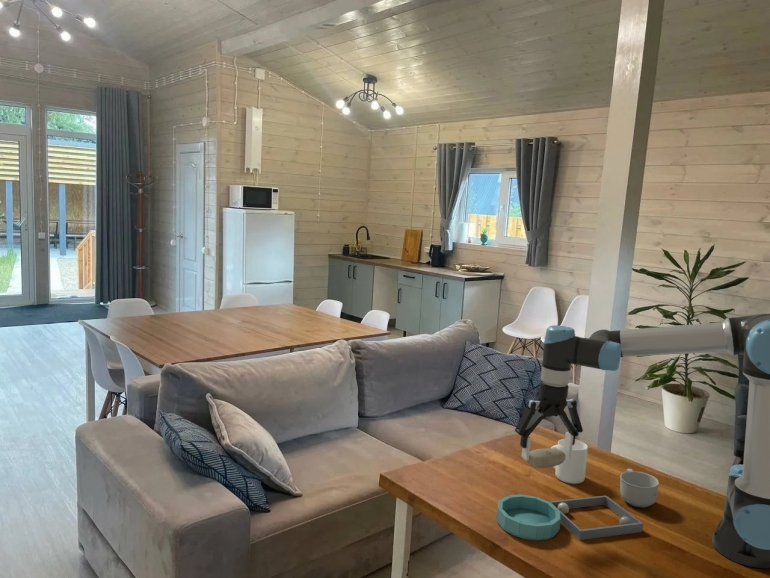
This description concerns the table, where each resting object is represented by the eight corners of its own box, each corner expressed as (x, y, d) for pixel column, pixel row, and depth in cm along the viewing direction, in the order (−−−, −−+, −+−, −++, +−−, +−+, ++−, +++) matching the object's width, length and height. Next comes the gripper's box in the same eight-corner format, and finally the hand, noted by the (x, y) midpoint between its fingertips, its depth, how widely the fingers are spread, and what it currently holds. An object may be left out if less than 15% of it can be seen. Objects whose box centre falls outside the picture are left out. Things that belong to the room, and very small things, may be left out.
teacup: (659, 514, 174) (663, 488, 173) (621, 508, 176) (624, 483, 175) (648, 492, 187) (651, 468, 186) (613, 487, 190) (615, 464, 188)
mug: (586, 486, 189) (589, 452, 188) (547, 480, 192) (550, 446, 190) (583, 474, 198) (586, 440, 197) (546, 468, 201) (549, 436, 199)
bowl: (570, 537, 159) (572, 522, 158) (515, 544, 154) (516, 528, 153) (538, 506, 175) (539, 492, 174) (486, 511, 170) (487, 497, 169)
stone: (572, 458, 163) (544, 453, 156) (560, 475, 165) (532, 471, 158) (559, 444, 168) (532, 439, 161) (547, 461, 169) (520, 457, 163)
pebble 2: (633, 530, 164) (634, 519, 164) (623, 531, 163) (624, 520, 163) (625, 524, 167) (626, 513, 167) (616, 525, 166) (617, 514, 166)
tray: (642, 531, 163) (643, 523, 163) (579, 540, 158) (580, 531, 157) (605, 503, 179) (606, 495, 178) (546, 509, 173) (547, 501, 173)
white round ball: (570, 515, 170) (571, 505, 170) (561, 516, 169) (562, 506, 169) (564, 510, 173) (565, 500, 173) (554, 511, 172) (555, 501, 172)
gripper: (585, 377, 167) (577, 449, 170) (507, 379, 160) (499, 453, 163) (601, 385, 160) (592, 460, 163) (520, 387, 153) (512, 465, 156)
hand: (546, 457), depth 163 cm, fingers closed on stone, 12 cm apart
